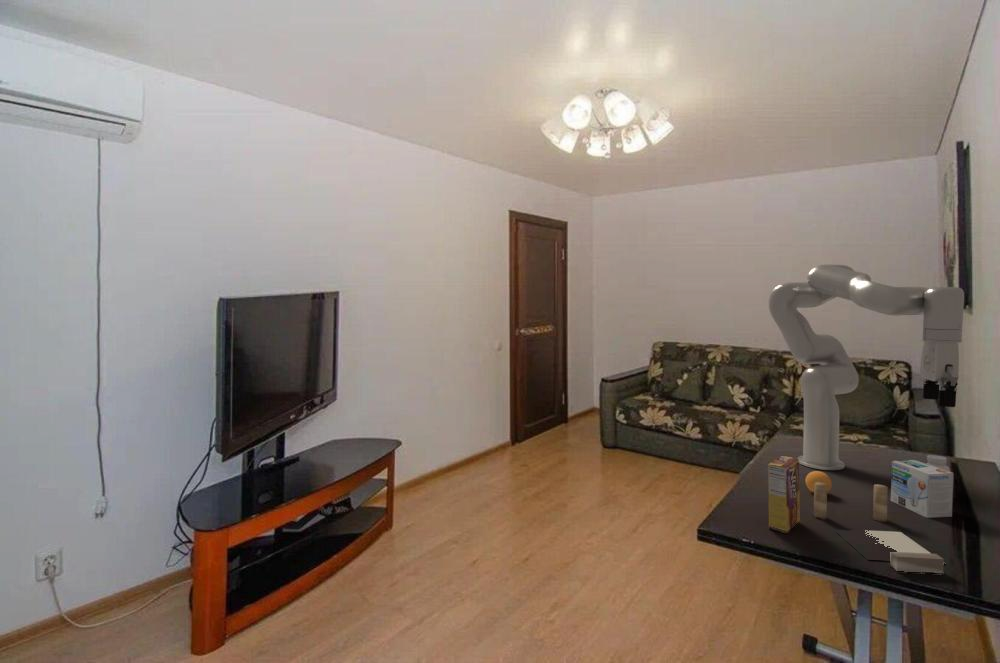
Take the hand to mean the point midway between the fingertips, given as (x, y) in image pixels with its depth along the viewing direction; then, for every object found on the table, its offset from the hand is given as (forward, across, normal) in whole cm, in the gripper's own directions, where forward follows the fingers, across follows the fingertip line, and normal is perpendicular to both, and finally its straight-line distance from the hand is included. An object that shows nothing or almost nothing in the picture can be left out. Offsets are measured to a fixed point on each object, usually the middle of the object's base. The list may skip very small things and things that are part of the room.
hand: (938, 402), depth 129 cm
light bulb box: (+26, +8, -5) cm, 27 cm away
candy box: (+26, +30, -38) cm, 55 cm away
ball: (+23, +5, -26) cm, 35 cm away
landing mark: (+25, +34, -19) cm, 46 cm away
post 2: (+26, +19, -16) cm, 36 cm away
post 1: (+26, +22, -29) cm, 44 cm away
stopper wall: (+25, +44, -17) cm, 53 cm away
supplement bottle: (+26, -6, +3) cm, 27 cm away
